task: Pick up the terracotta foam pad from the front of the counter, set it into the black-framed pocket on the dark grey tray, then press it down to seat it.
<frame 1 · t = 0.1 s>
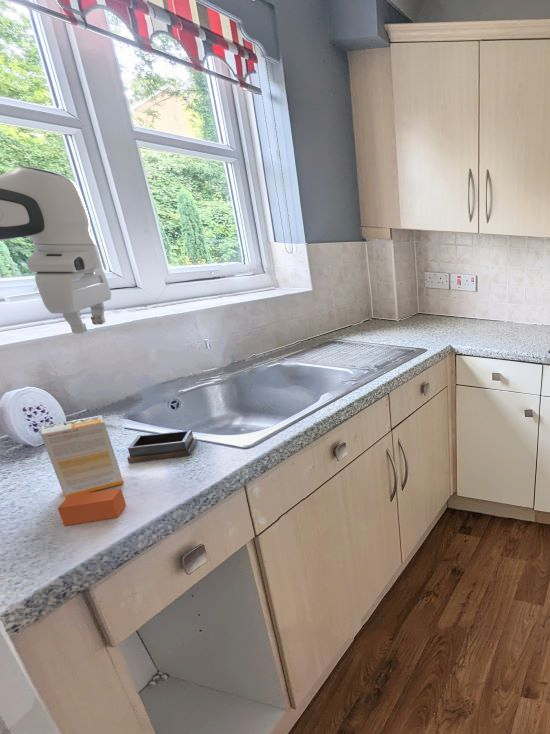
hand: (90, 328, 94), 26 cm above the table, tool pointing down, fingers open, 8 cm apart
pad: (96, 515, 77), on the table
supplement box: (94, 487, 86), on the table
dark grey tray: (164, 451, 99), on the table
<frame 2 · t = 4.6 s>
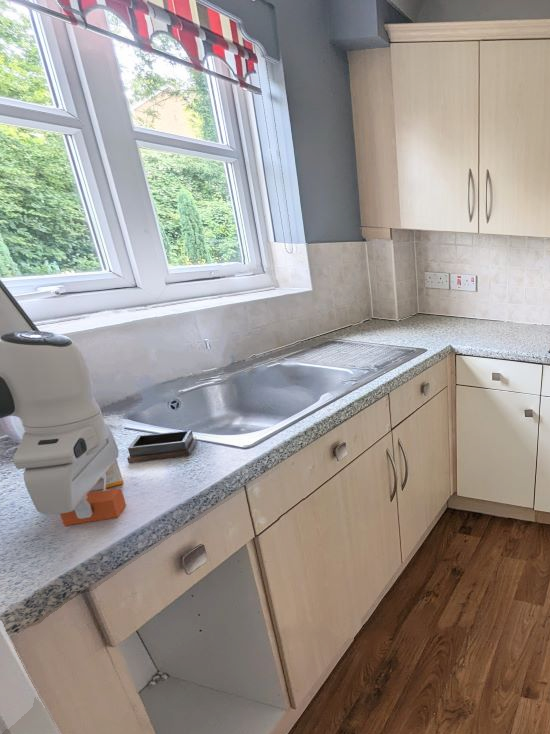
hand: (93, 507, 77), 2 cm above the table, tool pointing down, fingers closed on pad, 4 cm apart
pad: (96, 515, 77), on the table, touching gripper
everything else where it was.
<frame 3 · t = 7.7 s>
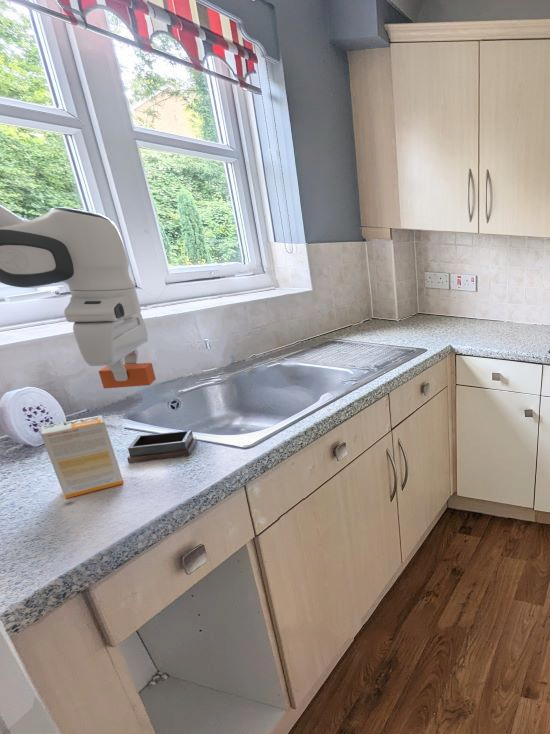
hand: (128, 376, 88), 19 cm above the table, tool pointing down, fingers closed on pad, 4 cm apart
pad: (130, 383, 88), point 18 cm above the table, touching gripper
everything else where it was.
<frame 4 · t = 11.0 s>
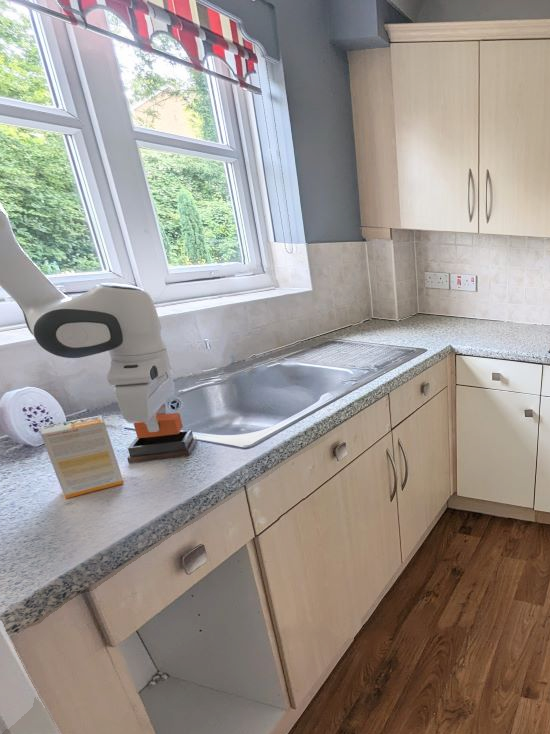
hand: (158, 426, 97), 6 cm above the table, tool pointing down, fingers closed on pad, 4 cm apart
pad: (161, 432, 98), point 5 cm above the table, touching gripper
everything else where it was.
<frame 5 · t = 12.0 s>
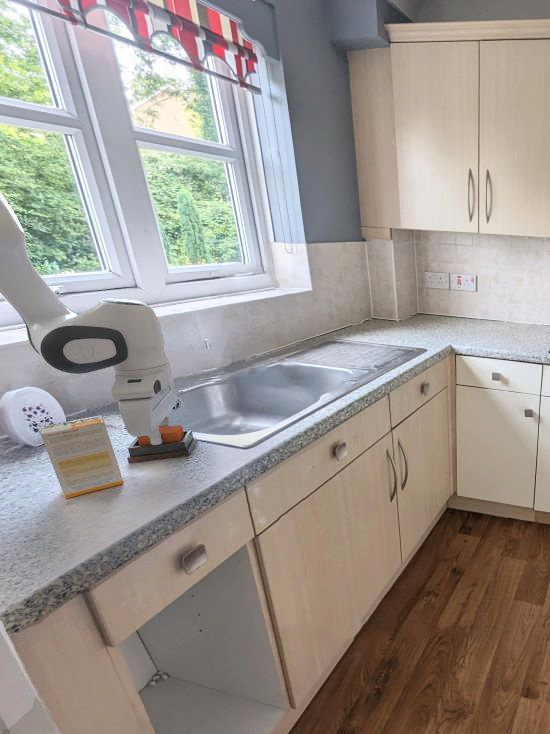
hand: (161, 438, 98), 3 cm above the table, tool pointing down, fingers closed on pad, 4 cm apart
pad: (163, 444, 99), point 2 cm above the table, touching gripper
everything else where it was.
when the fingers open (4 cm above the table, at t = 17.4 s): pad drops 1 cm, resting on dark grey tray.
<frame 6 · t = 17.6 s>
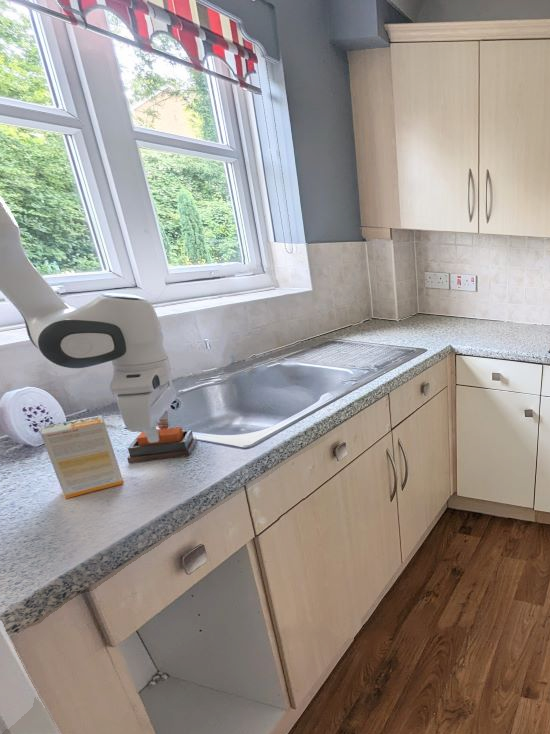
hand: (160, 434, 98), 4 cm above the table, tool pointing down, fingers open, 6 cm apart
pad: (163, 446, 99), point 1 cm above the table, touching dark grey tray
everything else where it was.
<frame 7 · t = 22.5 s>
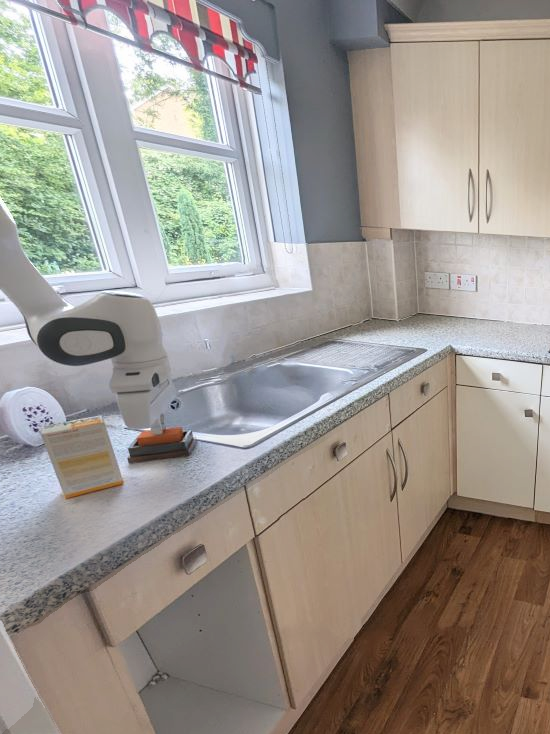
hand: (159, 432, 98), 5 cm above the table, tool pointing down, fingers closed, pressing on pad
pad: (163, 446, 99), point 1 cm above the table, touching dark grey tray, gripper
everything else where it was.
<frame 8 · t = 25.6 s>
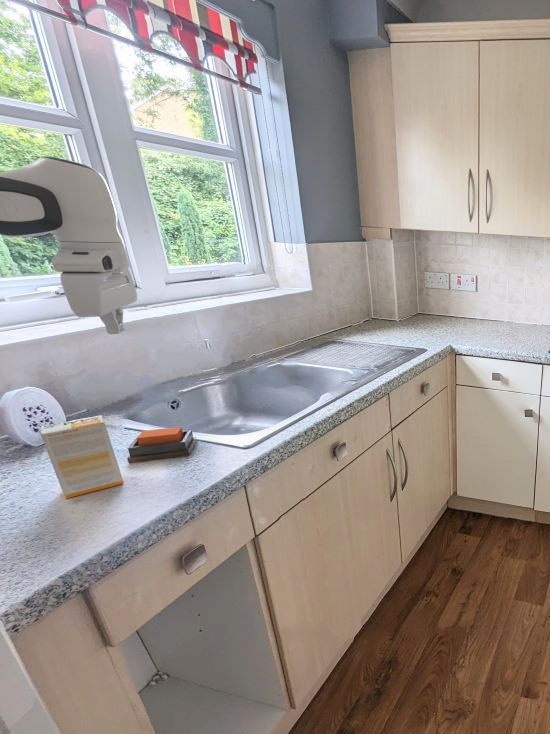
hand: (116, 332, 88), 27 cm above the table, tool pointing down, fingers closed
pad: (163, 446, 99), point 1 cm above the table, touching dark grey tray
everything else where it was.
at the end: pad 0.0 cm off-centre on the dark grey tray, point 1.2 cm above the dark grey tray's base; pad tilted 0°; the gripper is holding nothing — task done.
